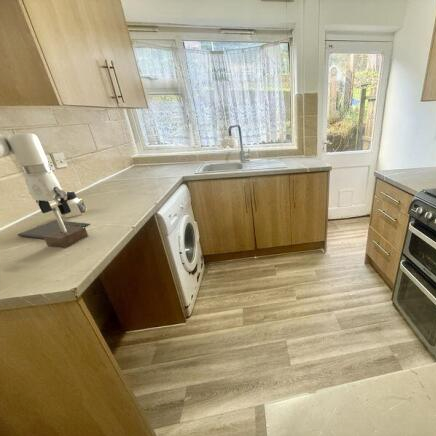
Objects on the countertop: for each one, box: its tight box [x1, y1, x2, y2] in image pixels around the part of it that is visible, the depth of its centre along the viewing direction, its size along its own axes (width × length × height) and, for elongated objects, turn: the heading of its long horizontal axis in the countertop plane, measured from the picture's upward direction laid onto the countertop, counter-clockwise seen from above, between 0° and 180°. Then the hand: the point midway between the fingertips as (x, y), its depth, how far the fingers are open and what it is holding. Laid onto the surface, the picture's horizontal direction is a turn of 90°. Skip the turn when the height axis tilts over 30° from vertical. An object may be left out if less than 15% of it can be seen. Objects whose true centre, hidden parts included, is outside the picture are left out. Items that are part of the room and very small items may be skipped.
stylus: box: [51, 206, 67, 233], centre depth 97 cm, size 1×1×15 cm
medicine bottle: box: [63, 191, 88, 218], centre depth 125 cm, size 7×7×12 cm
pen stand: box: [43, 226, 89, 249], centre depth 99 cm, size 9×9×4 cm
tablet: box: [17, 219, 91, 240], centre depth 110 cm, size 15×22×1 cm
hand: (56, 212), depth 95 cm, fingers open, 9 cm apart
